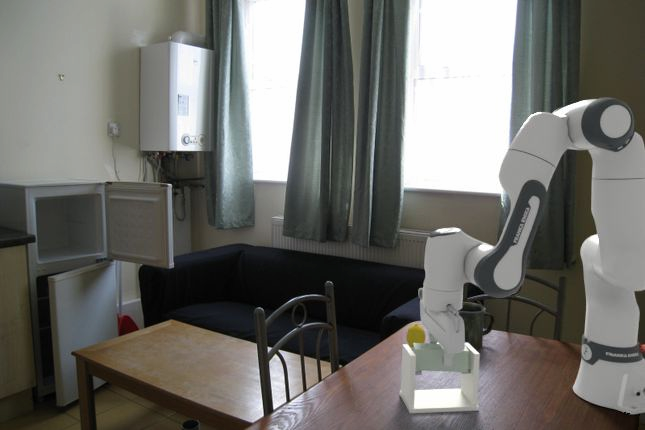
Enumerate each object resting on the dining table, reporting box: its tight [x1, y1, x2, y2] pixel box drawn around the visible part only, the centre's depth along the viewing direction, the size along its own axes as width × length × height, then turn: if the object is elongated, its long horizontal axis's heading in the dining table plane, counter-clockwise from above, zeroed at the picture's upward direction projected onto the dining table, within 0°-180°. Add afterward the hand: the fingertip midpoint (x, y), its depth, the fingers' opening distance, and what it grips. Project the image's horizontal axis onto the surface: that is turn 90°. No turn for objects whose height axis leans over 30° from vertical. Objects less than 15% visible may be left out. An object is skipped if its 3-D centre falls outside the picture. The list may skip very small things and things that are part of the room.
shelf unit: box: [399, 343, 481, 414], centre depth 119 cm, size 16×9×13 cm, turn 96°
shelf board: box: [412, 342, 469, 373], centre depth 119 cm, size 12×4×5 cm, turn 87°
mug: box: [458, 301, 495, 351], centre depth 156 cm, size 11×15×12 cm
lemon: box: [406, 323, 426, 349], centre depth 151 cm, size 6×6×8 cm
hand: (440, 356), depth 119 cm, fingers open, 8 cm apart
